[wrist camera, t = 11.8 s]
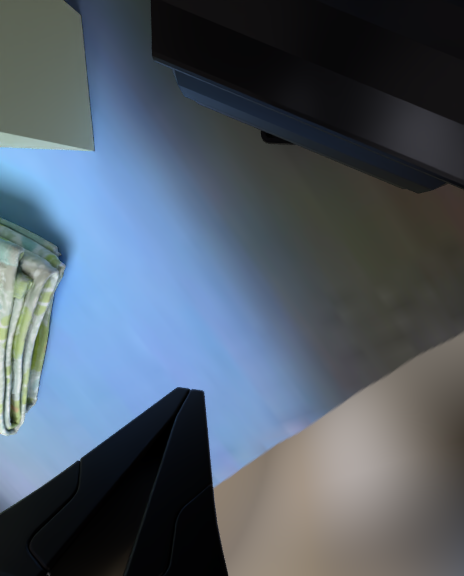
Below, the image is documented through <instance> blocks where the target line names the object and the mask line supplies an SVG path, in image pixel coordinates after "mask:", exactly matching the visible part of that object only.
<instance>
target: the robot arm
mask: <svg viewBox="0 0 464 576" xmlns="http://www.w3.org/2000/svg"><path fill="white" fill-rule="evenodd" d="M151 27H152V56H153V60H154V61H155V62H157V63H160V64H162V65H165V66H167V67H169V68H172V70H173V74H174V76H175V79H176V81H177V84H178V86H179V88H180V89H181V91H182V93H183V95H184V96H185V97H187V98H190V99H192V100H194V101H196V102H197V103H198V104H200V105H202V106H204V107H207V108H209V109H212V110H214V111H216V112H219V113H221V114H224V115H226V116H228V117H231V118H233V119H236V120H238V121H240V122H243V123H245V124H248V125H250V126H253V127H255V128H257V129H260V130H261V137H262V139H263V141H264V142H265V143H268V144H287V145H298V146H301V147H303V148H305V149H308V150H310V151H313V152H315V153H317V154H320V155H322V156H325V157H327V158H329V159H332V160H334V161H337V162H339V163H341V164H344V165H346V166H349V167H351V168H353V169H356V170H358V171H361V172H363V173H365V174H368V175H370V176H373V177H375V178H377V179H380V180H382V181H385V182H387V183H389V184H392V185H394V186H397V187H399V188H401V189H408V190H411V191H413V192H415V193H418V194H419V193H423V192H427V191H431V190H434V189H437V188H439V187H441V186H444V185H446V184H448V183H449V184H451V185H454V186H456V187H458V188H461V189H463V190H464V0H151ZM266 132H267V133H269V134H272V135H274V136H273V137H272V138H267V137H266ZM0 576H228V572H227V567H226V563H225V559H224V554H223V550H222V545H221V540H220V534H219V529H218V525H217V517H216V509H215V502H214V491H213V482H212V471H211V460H210V450H209V439H208V428H207V417H206V407H205V396H204V391H202V390H196V389H192V390H190V389H189V388H182V387H177V388H176V389H174V390H173V391H172V392H170V393H169V394H167V395H166V396H165V397H163V398H162V399H161V400H159V401H158V402H157V403H155V404H154V405H153V406H151V407H150V408H148V409H147V410H146V411H144V412H143V413H142V414H140V415H139V416H138V417H136V418H135V419H134V420H132V421H131V422H129V423H128V424H127V425H125V426H124V427H123V428H121V429H120V430H119V431H117V432H116V433H115V434H113V435H112V436H111V437H109V438H108V439H106V440H105V441H104V442H102V443H101V444H100V445H98V446H97V447H96V448H94V449H93V450H92V451H90V452H89V453H87V454H86V455H85V456H83V457H82V458H81V459H80V461H76V462H75V463H74V464H72V465H71V466H70V467H68V468H67V469H66V470H64V471H63V472H61V473H60V474H59V475H57V476H56V477H54V478H53V479H52V480H50V481H49V482H47V483H46V484H44V485H43V486H42V487H40V488H39V489H37V490H35V491H34V492H32V493H31V494H29V495H28V496H26V497H25V498H23V499H22V500H20V501H19V502H17V503H16V504H14V505H12V506H11V507H9V508H8V509H6V510H5V511H3V512H1V513H0Z"/></svg>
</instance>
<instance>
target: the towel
mask: <svg viewBox="0 0 464 576" xmlns="http://www.w3.org/2000/svg"><path fill="white" fill-rule="evenodd" d="M60 255H61V253H59V252H58V247H57V246H55V245H54V244H52V243H51V242H49V241H47V240H45V239H43V238H42V237H40V236H38V235H36V234H34V233H32V232H31V231H29V230H27V229H24V228H22V227H20V226H18V225H16V224H14V223H12V222H9V221H7V220H5V219H2V218H0V434H3V435H6V436H9V435H14V434H16V433H17V431H18V430H19V428H20V426H21V425H22V424H23V422H24V419H25V413H28V411H29V410H30V408H31V407H32V406H34V405H35V404H36V401H37V394H38V387H39V381H40V375H41V371H42V366H43V361H44V356H45V351H46V346H47V340H48V332H49V321H50V315H51V309H52V303H53V297H54V292H55V290H56V288H57V286H58V284H59V283H60V281H61V279H62V277H63V273H64V269H65V267H66V266H65V264H64V263H62V262H61V261H59V259H58V257H59V256H60Z"/></svg>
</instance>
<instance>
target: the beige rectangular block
mask: <svg viewBox="0 0 464 576" xmlns="http://www.w3.org/2000/svg"><path fill="white" fill-rule="evenodd" d="M0 147H6V148H31V149H55V150H79V151H95V150H94V140H93V130H92V120H91V110H90V100H89V90H88V80H87V70H86V60H85V50H84V40H83V30H82V20H81V15H80V14H79V13H78V12H76V11H75V10H74V9H73V8H72V7H71V6H70V5H68V4H67V3H66V2H65V1H64V0H0Z"/></svg>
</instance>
